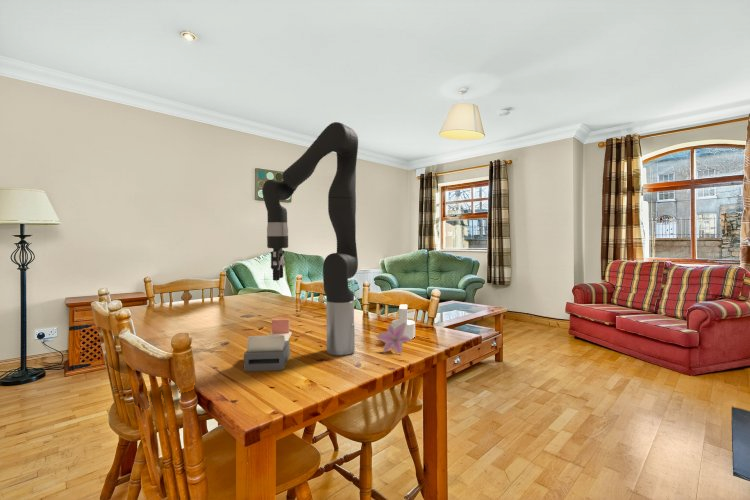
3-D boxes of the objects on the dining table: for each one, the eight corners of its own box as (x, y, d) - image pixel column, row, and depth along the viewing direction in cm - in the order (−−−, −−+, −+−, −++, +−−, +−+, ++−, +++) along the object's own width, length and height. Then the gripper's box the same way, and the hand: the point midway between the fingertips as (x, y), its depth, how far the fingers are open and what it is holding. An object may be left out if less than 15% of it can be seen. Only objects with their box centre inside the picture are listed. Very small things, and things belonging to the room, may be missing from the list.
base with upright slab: (392, 334, 140) (392, 304, 139) (414, 334, 139) (415, 304, 138) (390, 340, 131) (390, 308, 130) (415, 341, 130) (415, 309, 130)
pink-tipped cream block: (291, 333, 132) (291, 318, 132) (283, 350, 113) (283, 332, 112) (270, 333, 132) (270, 319, 131) (258, 351, 112) (258, 333, 112)
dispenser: (290, 354, 116) (289, 326, 116) (283, 369, 102) (283, 339, 102) (255, 355, 115) (255, 327, 114) (244, 371, 101) (243, 340, 100)
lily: (373, 350, 123) (371, 331, 118) (395, 333, 129) (393, 315, 124) (396, 367, 116) (394, 348, 111) (418, 349, 122) (417, 330, 117)
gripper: (285, 234, 123) (285, 281, 123) (290, 235, 137) (291, 276, 138) (262, 235, 122) (263, 281, 123) (271, 235, 136) (271, 277, 137)
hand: (278, 279), depth 130 cm, fingers open, 8 cm apart
